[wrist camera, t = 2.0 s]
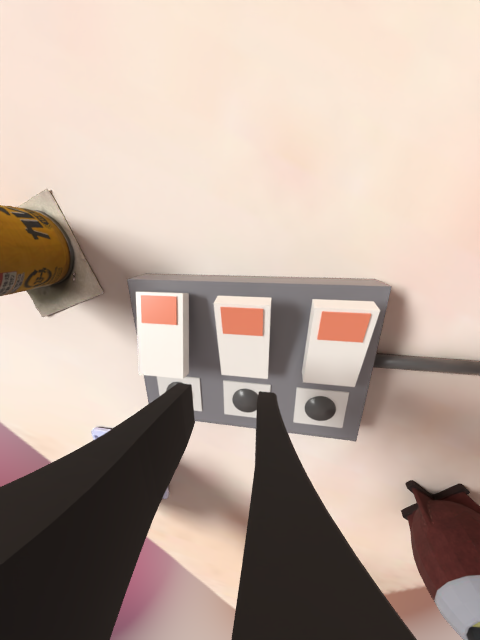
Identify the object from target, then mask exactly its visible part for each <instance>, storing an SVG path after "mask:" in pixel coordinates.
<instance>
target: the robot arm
mask: <svg viewBox="0 0 480 640" xmlns="http://www.w3.org/2000/svg"><path fill="white" fill-rule="evenodd" d="M194 423H195V418H194V407H193V396H192V385H191V384H182V383H177V384H176V385H174V386H173V387H172V388H170V389H169V390H167V391H166V392H165V393H163V394H162V395H161V396H159V397H158V398H157V399H155V400H154V401H152V402H151V403H150V404H148V405H147V406H145V407H144V408H143V409H141V410H140V411H138V412H137V413H136V414H134V415H133V416H131V417H130V418H128V419H127V420H125V421H124V422H122V423H121V424H119V425H117V426H116V427H114V428H113V429H105V428H98V427H95V428H94V429H93V430H92V431H91V432H92V436H93V439H94V440H93V441H92V442H90V443H88V444H86V445H85V446H83V447H81V448H79V449H77V450H76V451H74V452H72V453H70V454H68V455H66V456H64V457H62V458H60V459H58V460H56V461H54V462H52V463H50V464H48V465H46V466H44V467H42V468H41V469H39V470H36V471H34V472H32V473H30V474H28V475H26V476H24V477H22V478H19V479H17V480H15V481H13V482H11V483H9V484H6V485H4V486H2V487H0V640H110V637H111V634H112V631H113V628H114V625H115V622H116V620H117V617H118V614H119V611H120V608H121V605H122V602H123V599H124V596H125V593H126V590H127V588H128V585H129V582H130V579H131V577H132V574H133V571H134V568H135V566H136V563H137V560H138V557H139V554H140V552H141V549H142V546H143V544H144V541H145V539H146V536H147V533H148V531H149V528H150V526H151V523H152V520H153V518H154V516H155V513H156V511H157V509H158V506H159V504H160V502H161V500H162V498H163V499H167V498H168V496H169V490H168V485H169V483H170V481H171V479H172V477H173V475H174V473H175V470H176V468H177V466H178V464H179V462H180V460H181V458H182V456H183V453H184V451H185V449H186V447H187V444H188V441H189V439H190V436H191V433H192V430H193V427H194ZM232 640H417V639H416V638H415V637H414V635H413V634H412V633H411V631H410V630H409V629H408V627H407V626H406V625H405V623H404V622H403V621H402V619H401V618H400V617H399V615H398V614H397V613H396V611H395V610H394V608H393V607H392V606H391V604H390V603H389V601H388V600H387V599H386V597H385V596H384V595H383V593H382V592H381V590H380V589H379V588H378V586H377V585H376V583H375V582H374V580H373V579H372V578H371V576H370V575H369V573H368V572H367V570H366V569H365V567H364V566H363V565H362V563H361V562H360V560H359V559H358V557H357V556H356V554H355V553H354V551H353V550H352V548H351V547H350V545H349V544H348V542H347V541H346V539H345V537H344V536H343V534H342V533H341V531H340V530H339V528H338V527H337V525H336V524H335V522H334V520H333V519H332V517H331V516H330V514H329V513H328V511H327V509H326V508H325V506H324V504H323V502H322V501H321V499H320V497H319V496H318V494H317V492H316V490H315V489H314V487H313V485H312V483H311V481H310V479H309V478H308V476H307V474H306V472H305V470H304V468H303V466H302V464H301V462H300V460H299V458H298V456H297V454H296V451H295V449H294V447H293V445H292V442H291V440H290V438H289V435H288V433H287V430H286V428H285V425H284V422H283V419H282V416H281V413H280V410H279V406H278V401H277V395H276V394H275V393H271V392H261V391H259V394H258V399H257V415H256V452H255V471H254V479H253V487H252V495H251V503H250V511H249V519H248V526H247V533H246V541H245V548H244V556H243V563H242V570H241V577H240V584H239V591H238V598H237V605H236V613H235V620H234V626H233V633H232Z"/></svg>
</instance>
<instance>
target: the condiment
mask: <svg viewBox="0 0 480 640" xmlns="http://www.w3.org/2000/svg"><path fill="white" fill-rule="evenodd" d="M73 273H75V276H74V275H73ZM73 277H75V281H73ZM22 291H27V293H28V294H29V295H30V297H31V298H32V300H33V302H34V304H35V306H36V308H37V310H38V311H39V312H40V314H41V316H42V317H45V316H48V315H50V314H53V313H55V312H58V311H61V310H63V309H66V308H68V307H71V306H73V305H76V304H78V303H81V302H83V301H86V300H88V299H91V298H93V297H96V296H98V295H101V294H103V293H104V292H103V290H102V288H101V287H100V285H99V283H98V281H97V279H96V277H95V275H94V274H93V272H92V271H91V268H90V266H89V264H88V262H87V261H86V259H85V258H84V255H83V253H82V251H81V249H80V247H79V245H78V243H77V241H76V239H75V237H74V235H73V233H72V231H71V230H70V228H69V226H68V224H67V222H66V220H65V218H64V216H63V214H62V212H61V211H60V209H59V208H58V205H57V203H56V202H55V200H54V198H53V196H52V195H51V193H50V192H49V191H48V189H45V190H44V191H42V192H40V193H39V194H37V195H36V196H34V197H32V198H31V199H30V200H28V201H27V202H25V203H23V204H22V205H20V206H19V207H12V206H1V205H0V296H3V295H8V294H13V293H17V292H22Z"/></svg>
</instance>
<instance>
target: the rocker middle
mask: <svg viewBox="0 0 480 640" xmlns="http://www.w3.org/2000/svg"><path fill="white" fill-rule="evenodd" d="M214 312H215V321H216V330H217V339H218V348H219V357H220V366H221V375H229V376H240V377H251V378H262V379H268V369H269V345H270V321H271V298H270V297H243V296H217V298H216V300H215V302H214Z"/></svg>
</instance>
